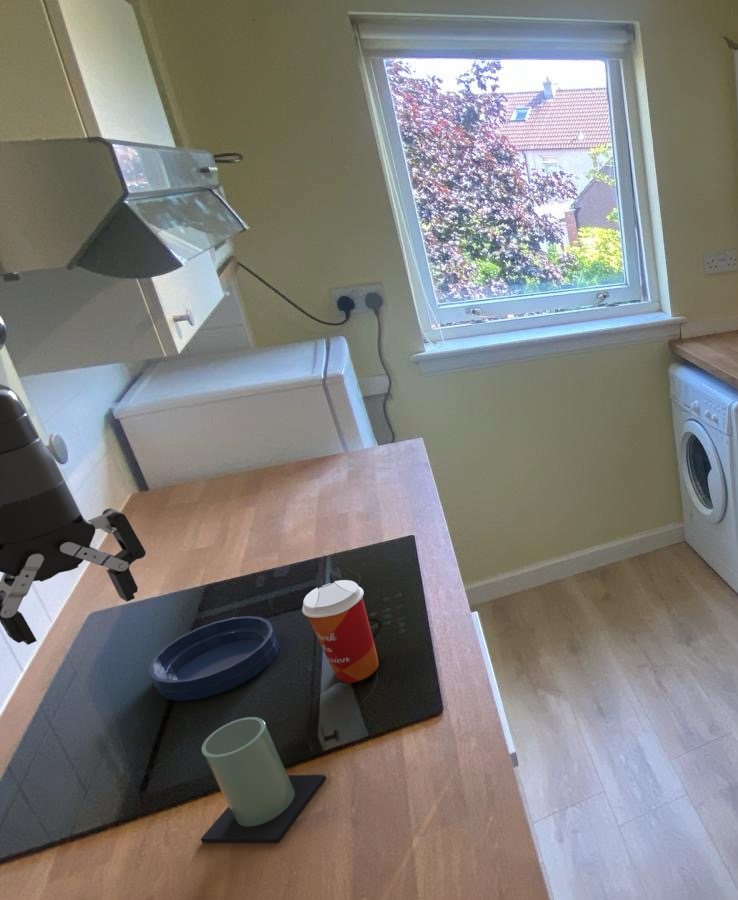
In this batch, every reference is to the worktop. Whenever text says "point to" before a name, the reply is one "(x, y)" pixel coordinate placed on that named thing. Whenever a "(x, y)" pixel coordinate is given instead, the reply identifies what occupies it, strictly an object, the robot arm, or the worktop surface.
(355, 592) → the paper cup
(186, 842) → the worktop surface
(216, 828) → the mat
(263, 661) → the bowl
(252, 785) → the cup
